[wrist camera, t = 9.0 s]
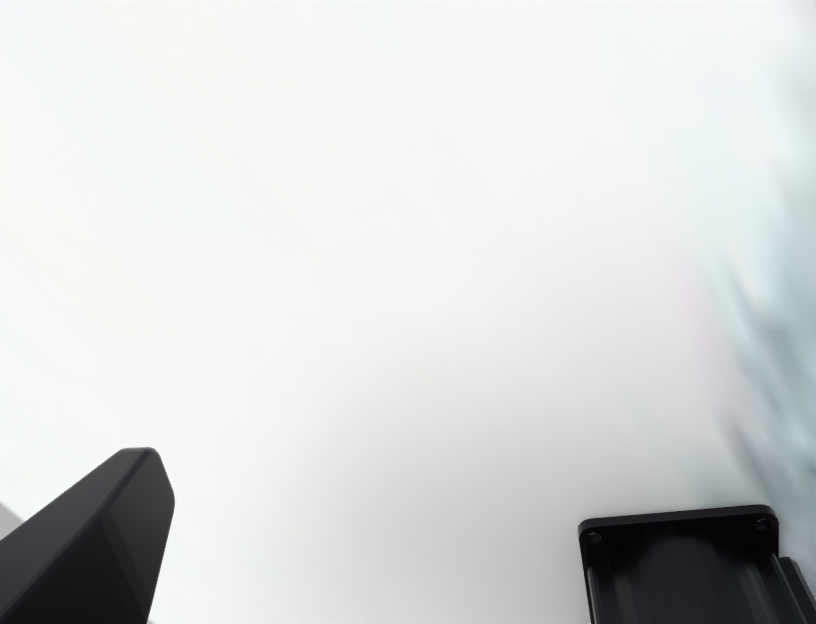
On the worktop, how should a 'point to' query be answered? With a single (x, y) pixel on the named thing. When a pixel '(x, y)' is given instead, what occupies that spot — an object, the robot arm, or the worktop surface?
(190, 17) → the worktop surface
